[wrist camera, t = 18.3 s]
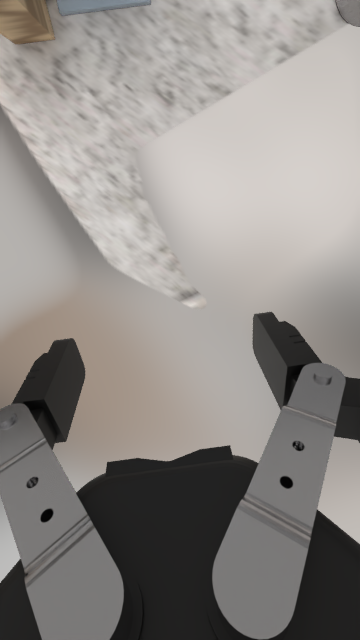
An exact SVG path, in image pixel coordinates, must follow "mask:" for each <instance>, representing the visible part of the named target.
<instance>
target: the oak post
mask: <svg viewBox="0 0 360 640" xmlns="http://www.w3.org/2000/svg"><path fill="white" fill-rule="evenodd" d="M0 34H2V35H3V36H5V37H6V38H7V39H9V40H10V41H12V42H13V43H14V44H24V43H31V42H39V41H47V40H55V37H54V33H53V29H52V25H51V21H50V17H49V13H48V9H47V5H46V1H45V0H0Z"/></svg>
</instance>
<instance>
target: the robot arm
mask: <svg viewBox="0 0 360 640" xmlns="http://www.w3.org/2000/svg"><path fill="white" fill-rule="evenodd" d="M336 3H337V6H338V10H339V12H340V14H341V15H342V17H343V18H344V19H345V20H346V21H347V22H348V23H349V24H351V25H353V26H358V27H360V0H336ZM253 349H254V354H255V356H256V359H257V361H258V363H259V365H260V367H261V369H262V371H263V373H264V375H265V378H266V379H267V382H268V384H269V386H270V388H271V390H272V393H273V394H274V397H275V399H276V401H277V403H278V405H279V407H280V409H281V412H280V414H279V417H278V419H277V421H276V424H275V426H274V429H273V431H272V433H271V435H270V438H269V440H268V443H267V445H266V447H265V450H264V452H263V454H262V457H261V460H260V461H259V463H257V462H254V461H253V460H250V459H248V458H244V457H240V456H235V455H232V452H231V448H230V446H222V447H215V448H208V449H200V450H198V451H195V452H193V453H191V454H187V455H185V456H183V457H180V458H177V459H175V460H172V461H157V460H149V459H140V458H136V459H128V460H120V461H113V462H107V468H106V473H105V474H102V475H100V476H98V477H96V478H95V479H93V480H91V481H90V482H88V483H87V484H86V485H85V486H83V487H82V488H81V489H80V490H79V491H78V492H77V493H76V491H75V490H74V488H73V486H72V484H71V483H70V481H69V479H68V477H67V476H66V474H65V472H64V470H63V468H62V467H61V465H60V463H59V461H58V460H57V458H56V456H55V454H54V452H53V451H52V450H53V447H54V444H55V443H59V442H66V440H67V437H68V433H69V430H70V427H71V423H72V420H73V417H74V413H75V410H76V406H77V403H78V400H79V396H80V393H81V390H82V386H83V383H84V379H85V368H84V364H83V361H82V359H81V356H80V353H79V350H78V348H77V345H76V342H75V341H74V339H72V338H70V339H64V340H56V341H54V342H53V344H52V346H51V348H50V350H49V352H48V353H44V354H43V355H42V356H40V357H39V358H38V359H37V360H36V361H35V362H34V364H33V366H32V368H31V370H30V372H29V373H28V375H27V377H26V380H24V383H23V384H22V386H21V388H20V390H19V391H18V393H17V395H16V397H15V399H14V401H13V403H12V404H11V405H8V406H6V407H4V408H1V409H0V495H1V498H2V502H3V505H4V508H5V510H6V514H7V517H8V520H9V523H10V526H11V530H12V532H13V535H14V539H15V542H16V545H17V548H18V551H19V554H20V557H21V559H20V560H19V561H18V562H17V564H16V565H15V566H14V567H13V569H12V570H11V571H10V572H9V573H8V574H7V576H6V577H5V578H4V579H3V580H2V581H1V583H0V640H360V544H359V543H357V542H356V541H355V540H354V539H353V538H351V537H350V536H349V535H348V534H347V533H345V532H344V531H343V530H341V529H340V528H339V527H338V526H337V525H336V524H334V523H333V522H332V521H331V520H329V519H328V518H327V517H326V516H325V515H323V514H322V513H321V512H320V511H318V510H317V507H318V502H319V498H320V494H321V489H322V485H323V480H324V476H325V472H326V467H327V463H328V459H329V454H330V450H331V446H332V441H333V437H334V436H335V437H341V438H349V439H355V440H358V441H359V443H360V379H357V378H348V377H345V376H344V375H343V374H342V372H341V371H340V370H338V369H337V368H335V367H333V366H331V365H328V364H324V363H322V362H321V360H320V359H319V358H318V357H317V355H316V354H315V353H314V351H313V350H312V349H311V347H310V346H309V345H308V344H307V342H305V339H304V338H303V337H302V336H301V334H300V333H299V332H298V330H297V329H296V328H295V327H294V326H292V325H291V324H289V323H287V322H286V321H284V322H279V321H278V320H277V318H276V317H275V315H274V314H273V313H272V312H267V313H259V314H254V317H253Z"/></svg>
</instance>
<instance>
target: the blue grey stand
mask: <svg viewBox="0 0 360 640" xmlns="http://www.w3.org/2000/svg"><path fill="white" fill-rule="evenodd" d="M57 4H58V8H59V13H60V14H61V15H62V16H64V15H72V14H79V13H87V12H95V11H103V10H110V9H118V8H126V7H134V6H142V5H149V4H151V0H57Z"/></svg>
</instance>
